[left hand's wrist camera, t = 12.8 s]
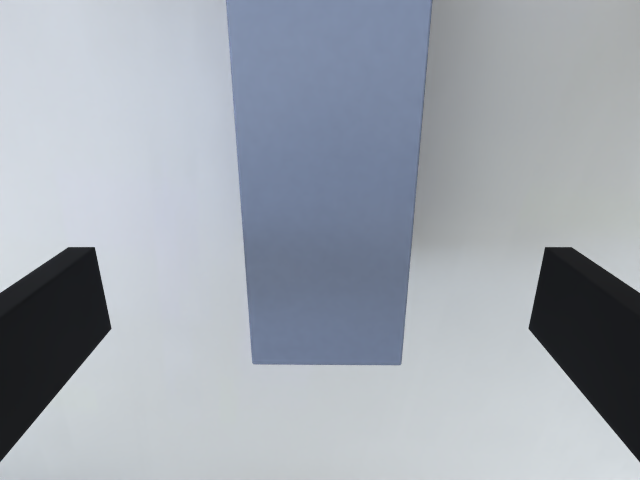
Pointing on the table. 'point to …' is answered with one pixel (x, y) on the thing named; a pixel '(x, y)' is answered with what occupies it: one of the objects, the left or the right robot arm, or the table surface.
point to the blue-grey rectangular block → (328, 172)
